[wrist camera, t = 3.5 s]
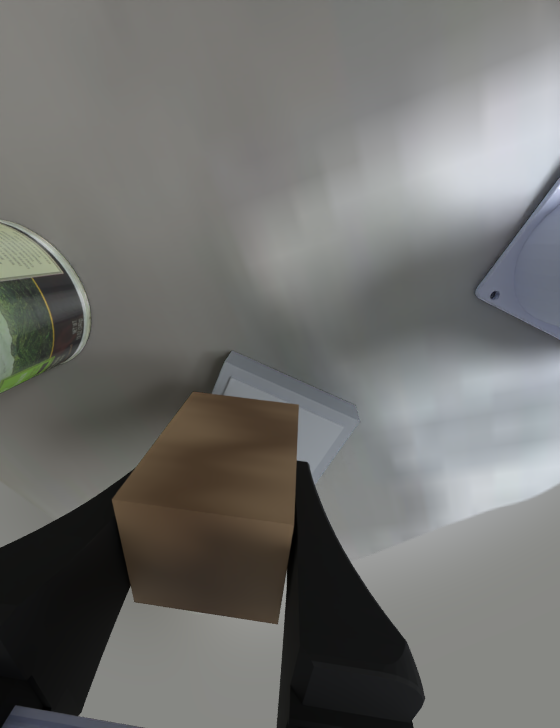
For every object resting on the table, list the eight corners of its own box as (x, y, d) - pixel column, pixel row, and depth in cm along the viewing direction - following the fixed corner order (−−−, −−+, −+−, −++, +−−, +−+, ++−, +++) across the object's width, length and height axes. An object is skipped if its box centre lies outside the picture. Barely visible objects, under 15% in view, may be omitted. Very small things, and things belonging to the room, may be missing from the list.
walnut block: (298, 404, 13) (294, 524, 7) (288, 483, 15) (277, 624, 9) (192, 391, 13) (111, 499, 8) (196, 471, 15) (134, 602, 10)
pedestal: (355, 405, 21) (360, 422, 19) (297, 490, 25) (296, 512, 23) (232, 350, 20) (223, 362, 18) (192, 447, 24) (182, 466, 22)
